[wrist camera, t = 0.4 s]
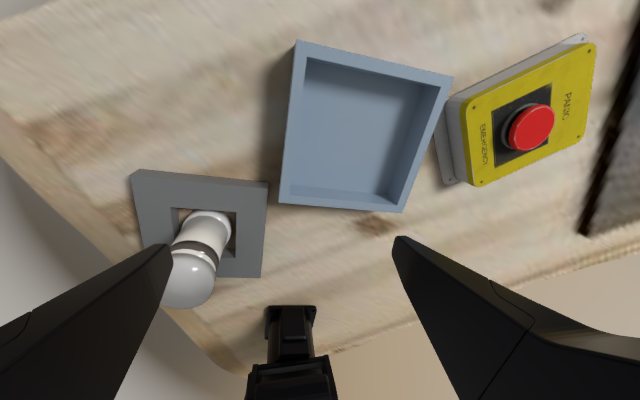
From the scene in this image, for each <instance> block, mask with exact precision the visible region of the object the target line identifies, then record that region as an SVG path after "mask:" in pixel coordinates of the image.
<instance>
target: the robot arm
mask: <svg viewBox="0 0 640 400" xmlns="http://www.w3.org/2000/svg"><path fill="white" fill-rule="evenodd" d="M392 258H393V260H394V263H395V266H396V268H397V271H398V274H399V276H400V279H401V282H402V284H403V287H404V289H405V291H406V293H407V295H408V297H409V299H410V301H411V303H412V305H413V307H414V309H415V311H416V313H417V315H418V317H419V319H420V321H421V323H422V325H423V327H424V329H425V331H426V333H427V335H428V337H429V339H430V341H431V343H432V345H433V347H434V349H435V351H436V353H437V355H438V357H439V360H440V361H441V364H442V366H443V367H444V370H445V372H446V374H447V375H448V378H449V380H450V382H451V384H452V386H453V387H454V390H455V392H456V394H457V395H458V397H459V400H640V338H634V337H627V336H620V335H615V334H610V333H606V332H603V331H599V330H596V329H594V328H591V327H588V326H586V325H584V324H582V323H579V322H577V321H575V320H573V319H571V318H569V317H566V316H564V315H562V314H560V313H558V312H556V311H554V310H551V309H549V308H547V307H545V306H543V305H541V304H538V303H536V302H534V301H532V300H530V299H528V298H526V297H524V296H522V295H519V294H517V293H515V292H513V291H511V290H509V289H508V288H506V287H504V286H502V285H500V284H498V283H496V282H494V281H492V280H488V278H486V277H484V276H482V275H480V274H478V273H476V272H475V271H473V270H471V269H469V268H467V267H465V266H463V265H461V264H459V263H457V262H455V261H453V260H451V259H450V258H448V257H446V256H444V255H442V254H440V253H438V252H436V251H434V250H432V249H430V248H428V247H426V246H425V245H423V244H421V243H419V242H417V241H415V240H413V239H411V238H409V237H407V236H397V237H396V238H395V240H394V244H393V248H392ZM173 264H174V262H173V257H172V253H171V250H170V246H169V245H168V244H167V243H157V244H153V245H151V246H150V247H148V248H146V249H144V250H142V251H140V252H139V253H137V254H135V255H133V256H131V257H129V258H127V259H126V260H124V261H122V262H120V263H118V264H116V265H114V266H113V267H111V268H109V269H107V270H105V271H103V272H102V273H100V274H98V275H96V276H94V277H92V278H90V279H89V280H87V281H85V282H83V283H81V284H79V285H77V286H76V287H74V288H72V289H70V290H68V291H67V292H65V293H63V294H61V295H59V296H57V297H55V298H54V299H52V300H50V301H48V302H46V303H44V304H42V305H41V306H39V307H37V308H35V309H33V310H32V312H27V313H26V314H24V315H22V316H20V317H18V318H16V319H15V320H13V321H11V322H9V323H7V324H5V325H3V326H1V327H0V400H114V398H115V396H116V394H117V392H118V390H119V388H120V386H121V384H122V382H123V379H124V378H125V375H126V373H127V371H128V369H129V367H130V365H131V363H132V361H133V359H134V357H135V355H136V353H137V351H138V349H139V346H140V344H141V342H142V340H143V338H144V336H145V334H146V332H147V330H148V328H149V326H150V324H151V322H152V320H153V318H154V316H155V313H156V311H157V309H158V307H159V305H160V302H161V300H162V297H163V294H164V291H165V288H166V285H167V283H168V280H169V277H170V274H171V271H172V268H173ZM316 311H317V309H316V306H270V307H268V310H267V319H266V327H265V337H264V338H265V339H266V340H268V353H267V364H260V365H258V364H253V368H252V372H250V374H248V382H247V389H246V395H245V398H244V400H338V396H337V391H336V386H335V382H334V378H333V373H332V369H331V365H330V361H329V357H328V355H323V356H319V357H315V353H314V345H313V337H312V327H313V323H314V319H315V315H316Z"/></svg>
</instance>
